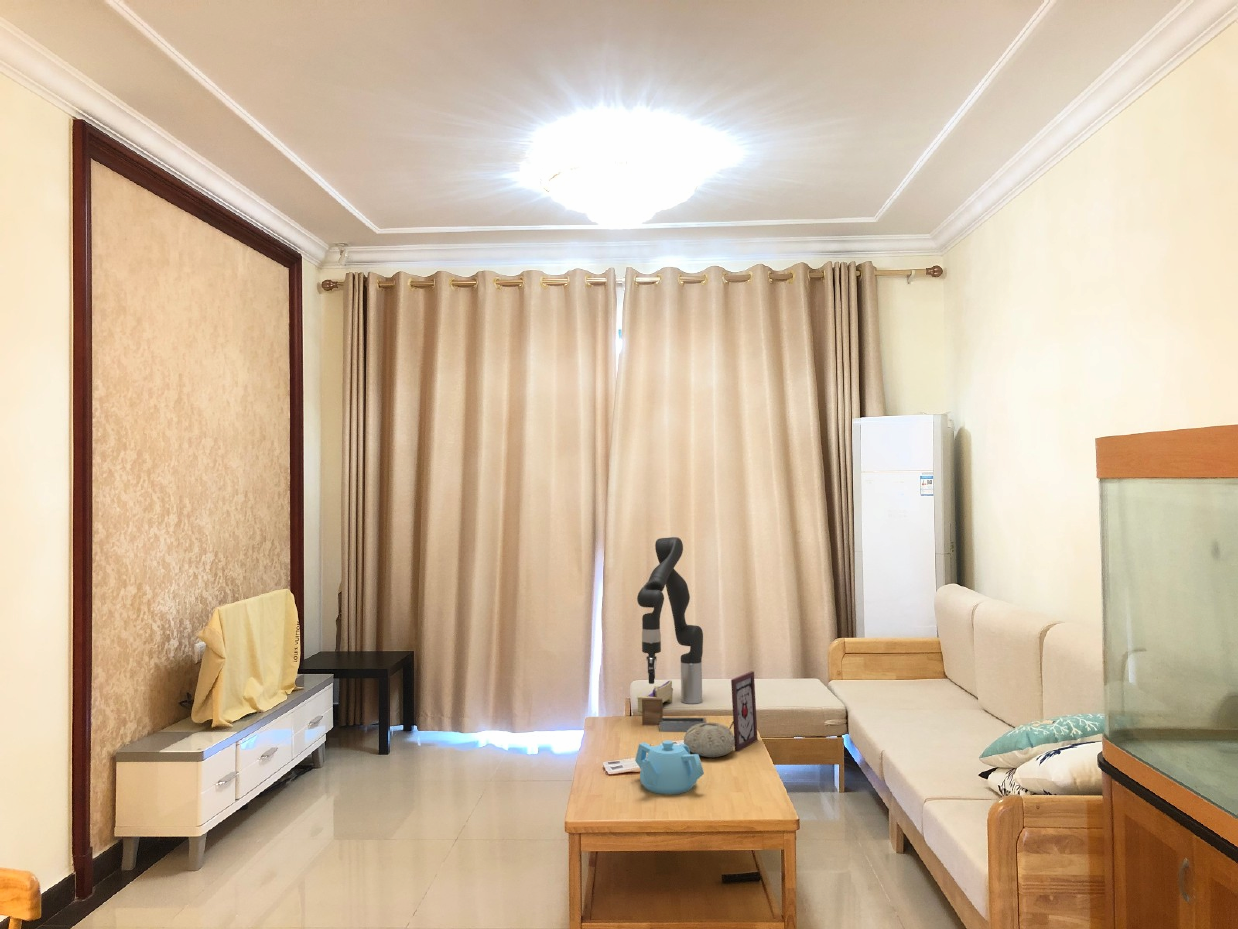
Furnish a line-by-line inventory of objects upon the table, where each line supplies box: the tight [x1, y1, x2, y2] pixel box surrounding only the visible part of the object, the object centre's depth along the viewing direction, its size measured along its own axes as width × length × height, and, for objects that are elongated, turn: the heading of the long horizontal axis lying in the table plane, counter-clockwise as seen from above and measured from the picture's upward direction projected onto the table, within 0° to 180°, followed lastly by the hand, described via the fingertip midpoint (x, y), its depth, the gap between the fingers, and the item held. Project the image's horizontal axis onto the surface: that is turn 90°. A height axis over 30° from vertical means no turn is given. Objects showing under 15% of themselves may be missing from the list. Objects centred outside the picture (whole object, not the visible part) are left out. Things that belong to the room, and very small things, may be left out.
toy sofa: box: [636, 680, 674, 713], centre depth 362 cm, size 21×9×10 cm, turn 156°
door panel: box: [641, 698, 664, 726], centre depth 335 cm, size 3×8×10 cm, turn 86°
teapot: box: [634, 740, 705, 795], centre depth 263 cm, size 19×19×14 cm
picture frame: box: [728, 670, 758, 753], centre depth 307 cm, size 17×10×25 cm, turn 146°
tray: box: [658, 717, 707, 733], centre depth 327 cm, size 7×18×4 cm, turn 86°
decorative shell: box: [683, 721, 735, 758], centre depth 295 cm, size 18×18×10 cm
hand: (651, 681), depth 335 cm, fingers open, 8 cm apart
